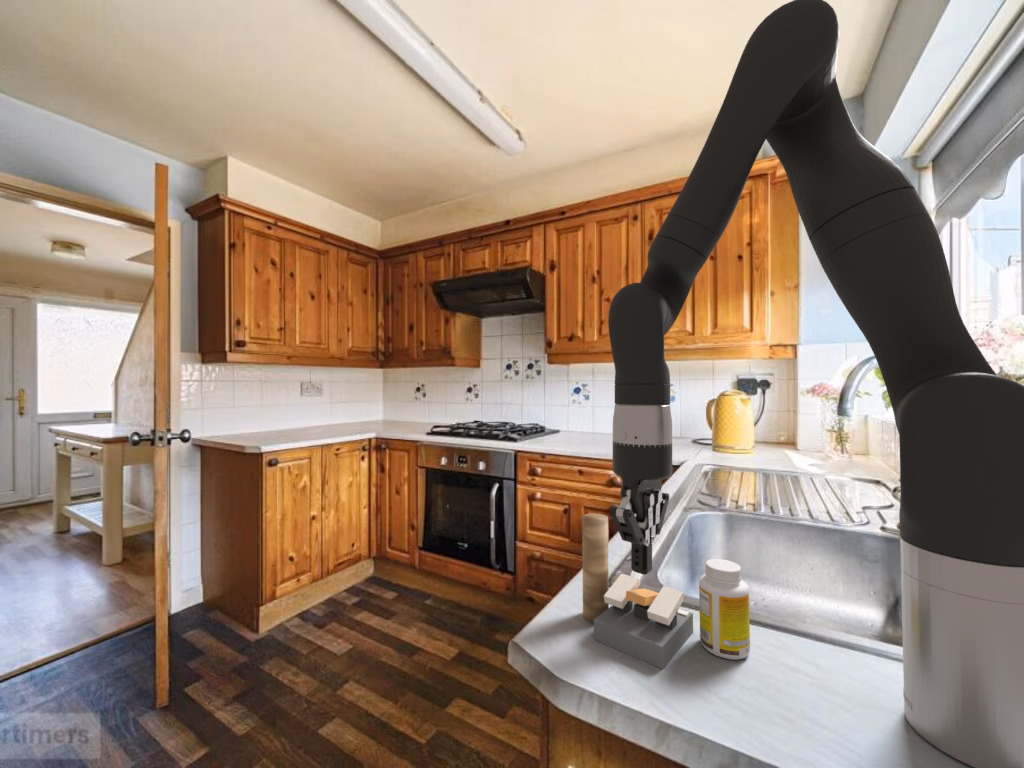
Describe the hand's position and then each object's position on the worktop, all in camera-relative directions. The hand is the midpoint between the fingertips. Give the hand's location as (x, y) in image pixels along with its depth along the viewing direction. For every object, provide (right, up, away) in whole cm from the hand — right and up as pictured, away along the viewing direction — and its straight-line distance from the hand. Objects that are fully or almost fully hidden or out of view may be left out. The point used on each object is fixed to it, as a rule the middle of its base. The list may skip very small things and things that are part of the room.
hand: (641, 571), depth 56 cm
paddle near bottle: (+2, -4, -2) cm, 5 cm away
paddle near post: (-2, -4, +2) cm, 5 cm away
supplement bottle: (+9, -8, -3) cm, 13 cm away
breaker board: (0, -8, 0) cm, 8 cm away
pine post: (-5, -8, +4) cm, 11 cm away
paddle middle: (0, -4, 0) cm, 4 cm away
